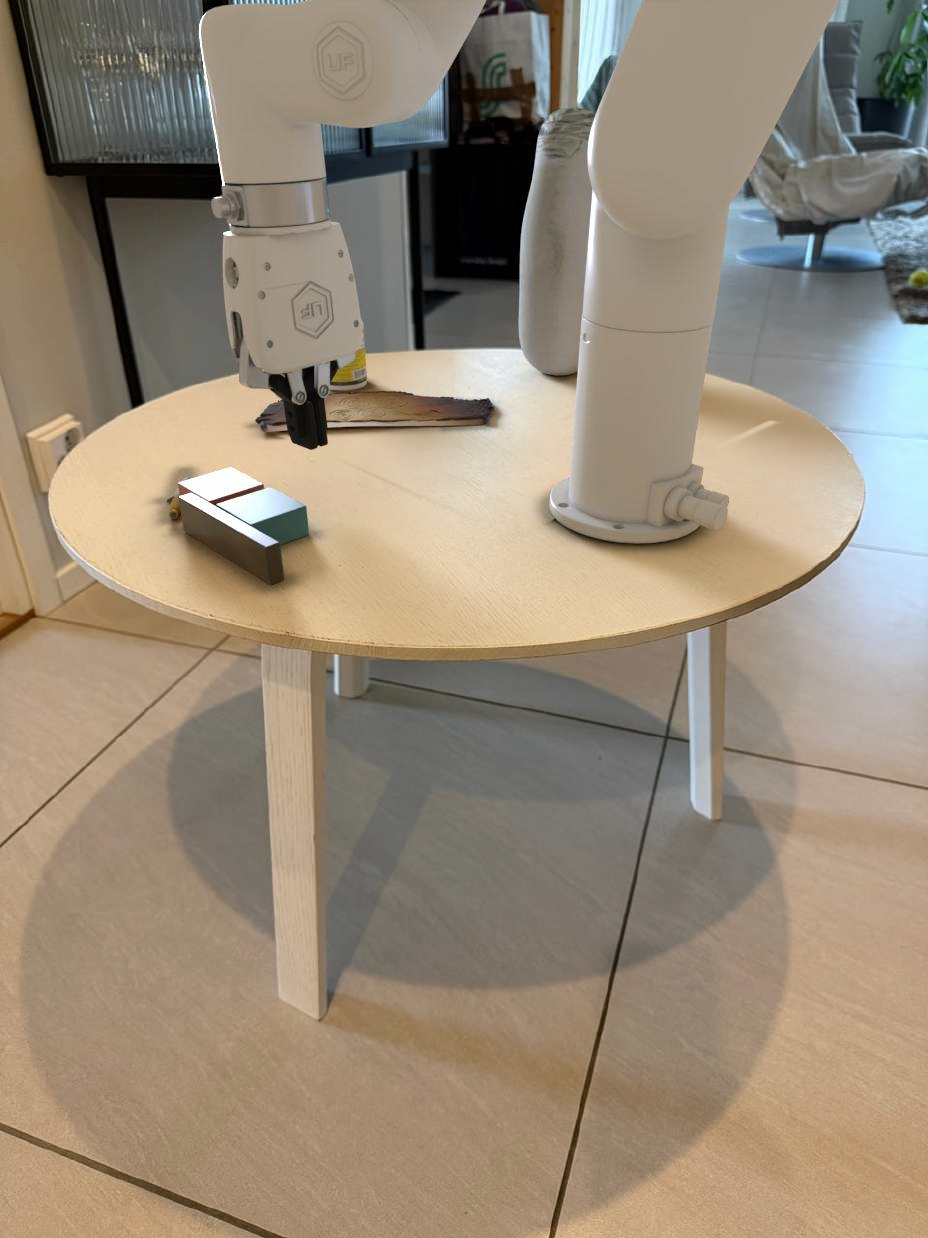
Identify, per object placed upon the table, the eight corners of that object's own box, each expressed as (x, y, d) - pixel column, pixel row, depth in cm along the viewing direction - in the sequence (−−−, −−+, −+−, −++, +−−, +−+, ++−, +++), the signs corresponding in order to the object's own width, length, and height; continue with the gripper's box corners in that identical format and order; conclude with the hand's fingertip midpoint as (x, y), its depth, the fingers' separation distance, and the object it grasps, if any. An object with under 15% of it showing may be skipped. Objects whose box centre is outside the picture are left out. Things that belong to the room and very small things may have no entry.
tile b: (267, 511, 72) (263, 483, 71) (213, 530, 69) (208, 501, 68) (235, 494, 75) (231, 466, 74) (182, 510, 72) (177, 482, 71)
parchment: (254, 433, 87) (253, 425, 87) (261, 400, 95) (260, 392, 95) (499, 427, 90) (499, 419, 89) (485, 396, 98) (485, 388, 98)
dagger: (173, 471, 79) (194, 465, 79) (177, 480, 80) (198, 474, 80) (159, 513, 70) (183, 507, 70) (163, 523, 70) (187, 517, 71)
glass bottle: (515, 361, 111) (524, 105, 96) (596, 362, 111) (617, 106, 96) (516, 383, 103) (526, 108, 88) (603, 385, 102) (628, 108, 88)
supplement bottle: (319, 379, 104) (312, 293, 98) (365, 377, 104) (360, 291, 99) (321, 393, 99) (314, 303, 94) (369, 390, 100) (364, 301, 95)
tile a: (309, 534, 68) (306, 505, 67) (254, 554, 65) (250, 524, 64) (274, 514, 71) (270, 486, 70) (219, 533, 68) (215, 504, 67)
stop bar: (284, 579, 62) (280, 542, 61) (270, 585, 61) (265, 547, 60) (197, 527, 69) (191, 492, 68) (183, 531, 69) (177, 496, 67)
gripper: (216, 222, 58) (259, 480, 68) (387, 199, 67) (404, 430, 76) (161, 215, 63) (209, 458, 72) (328, 195, 72) (351, 413, 81)
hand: (309, 443), depth 74 cm, fingers closed
